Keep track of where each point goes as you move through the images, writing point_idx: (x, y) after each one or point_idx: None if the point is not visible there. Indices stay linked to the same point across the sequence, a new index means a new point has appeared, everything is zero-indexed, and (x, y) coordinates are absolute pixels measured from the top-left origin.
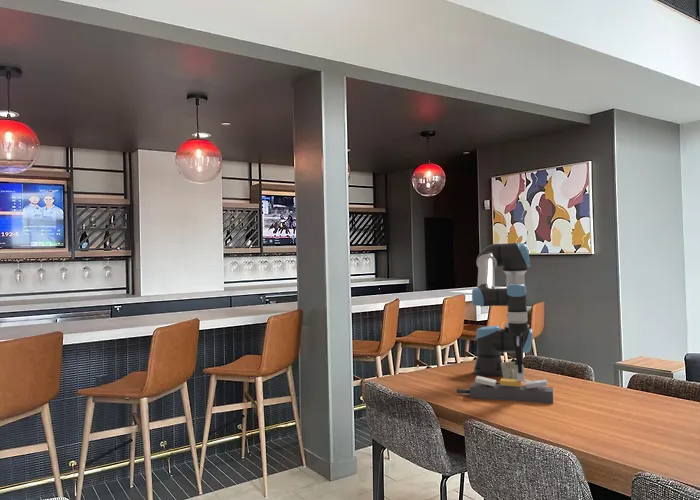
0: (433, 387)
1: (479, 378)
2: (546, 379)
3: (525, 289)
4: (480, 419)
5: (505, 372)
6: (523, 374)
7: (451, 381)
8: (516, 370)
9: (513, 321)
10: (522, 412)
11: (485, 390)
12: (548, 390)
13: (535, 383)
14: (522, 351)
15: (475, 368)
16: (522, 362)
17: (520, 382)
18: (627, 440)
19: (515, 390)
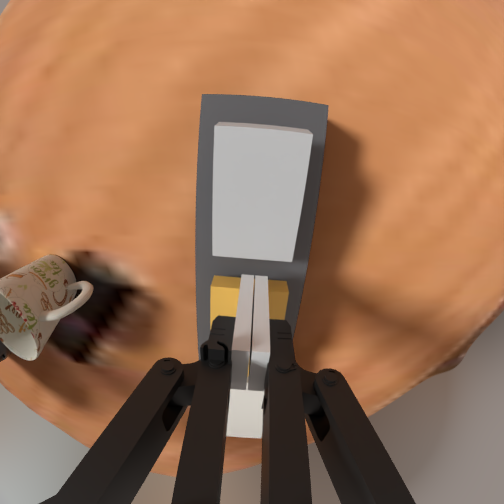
0: (178, 442)
1: (253, 429)
2: (225, 126)
3: None
4: (469, 342)
5: (52, 330)
6: (267, 302)
7: (100, 410)
8: (30, 295)
9: None
10: (442, 250)
11: None
12: (297, 123)
13: (301, 205)
14: (214, 465)
15: (2, 359)
16: (338, 380)
17: (283, 292)
18: None
19: (300, 295)
